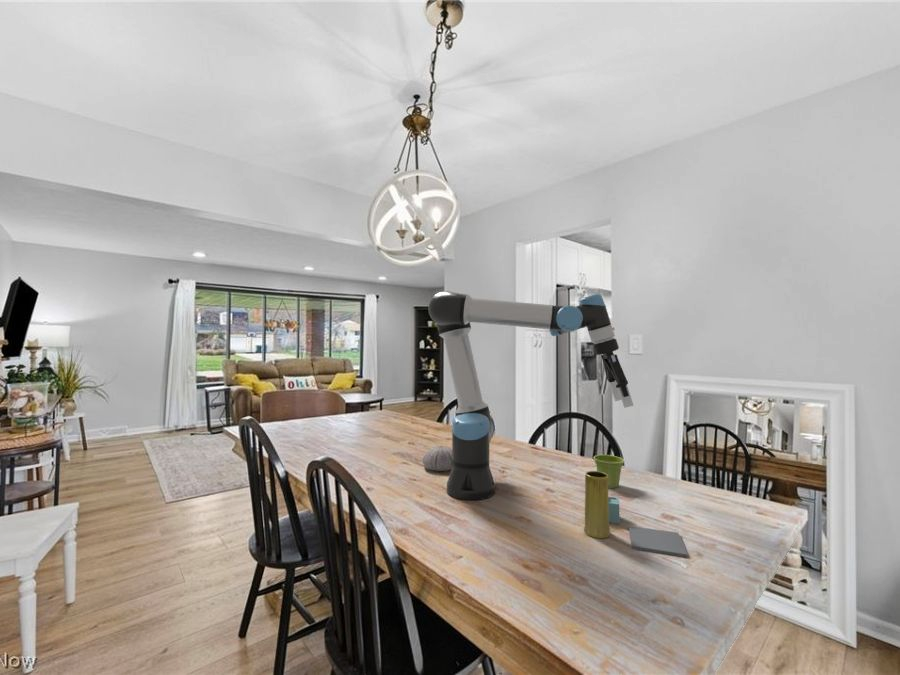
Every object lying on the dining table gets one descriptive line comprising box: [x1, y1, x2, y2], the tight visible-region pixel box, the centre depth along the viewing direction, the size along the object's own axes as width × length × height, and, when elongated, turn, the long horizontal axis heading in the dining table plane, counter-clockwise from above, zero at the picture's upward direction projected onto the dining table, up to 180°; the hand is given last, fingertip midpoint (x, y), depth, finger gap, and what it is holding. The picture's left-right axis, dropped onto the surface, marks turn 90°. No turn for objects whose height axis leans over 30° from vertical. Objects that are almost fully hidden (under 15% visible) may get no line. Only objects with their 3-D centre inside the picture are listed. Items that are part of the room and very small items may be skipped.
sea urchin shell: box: [422, 445, 452, 472], centre depth 153 cm, size 13×14×8 cm
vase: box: [583, 470, 611, 539], centre depth 100 cm, size 6×6×14 cm
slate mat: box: [628, 525, 688, 558], centre depth 95 cm, size 11×11×1 cm
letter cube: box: [608, 496, 620, 525], centre depth 108 cm, size 5×5×5 cm
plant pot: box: [593, 454, 625, 489], centre depth 134 cm, size 9×9×9 cm
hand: (623, 403), depth 133 cm, fingers open, 13 cm apart
